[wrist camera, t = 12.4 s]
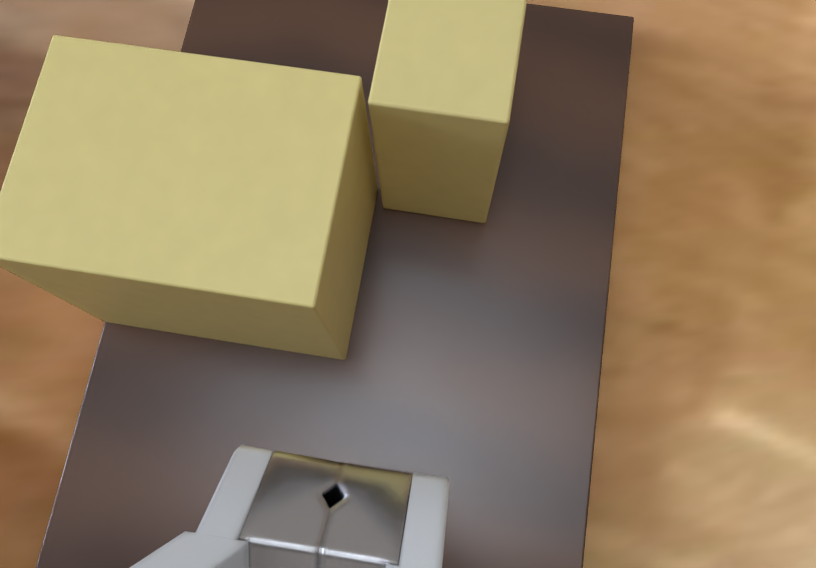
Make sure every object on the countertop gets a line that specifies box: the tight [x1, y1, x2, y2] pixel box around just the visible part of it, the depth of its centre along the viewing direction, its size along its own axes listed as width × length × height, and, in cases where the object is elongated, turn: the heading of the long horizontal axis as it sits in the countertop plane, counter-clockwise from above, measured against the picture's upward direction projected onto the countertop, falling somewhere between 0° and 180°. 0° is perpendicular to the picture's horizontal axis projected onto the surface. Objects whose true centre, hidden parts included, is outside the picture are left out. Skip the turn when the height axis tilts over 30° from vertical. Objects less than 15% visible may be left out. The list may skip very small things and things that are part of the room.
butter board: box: [36, 0, 634, 568], centre depth 24 cm, size 22×16×1 cm
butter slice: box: [368, 0, 527, 223], centre depth 22 cm, size 6×4×7 cm, turn 170°
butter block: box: [0, 35, 378, 360], centre depth 21 cm, size 6×8×7 cm
